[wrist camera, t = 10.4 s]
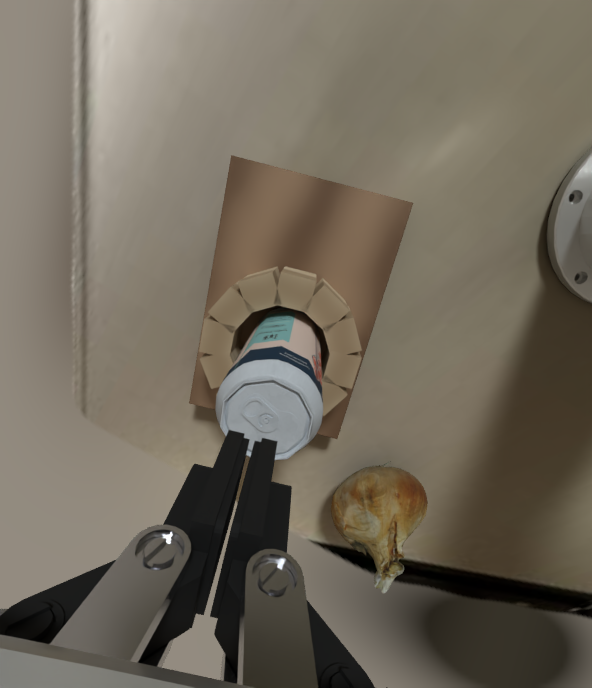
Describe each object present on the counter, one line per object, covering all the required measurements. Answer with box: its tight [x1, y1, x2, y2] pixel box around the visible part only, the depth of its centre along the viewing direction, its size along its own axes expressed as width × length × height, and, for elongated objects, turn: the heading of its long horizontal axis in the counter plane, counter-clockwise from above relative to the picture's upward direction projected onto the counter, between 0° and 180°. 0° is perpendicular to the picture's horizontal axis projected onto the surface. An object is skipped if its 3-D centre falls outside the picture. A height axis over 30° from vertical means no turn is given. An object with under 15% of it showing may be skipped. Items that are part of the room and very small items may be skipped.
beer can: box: [215, 308, 323, 460], centre depth 21 cm, size 5×5×12 cm
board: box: [189, 155, 413, 439], centre depth 26 cm, size 12×18×6 cm, turn 166°
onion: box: [331, 461, 427, 593], centre depth 29 cm, size 8×8×8 cm
